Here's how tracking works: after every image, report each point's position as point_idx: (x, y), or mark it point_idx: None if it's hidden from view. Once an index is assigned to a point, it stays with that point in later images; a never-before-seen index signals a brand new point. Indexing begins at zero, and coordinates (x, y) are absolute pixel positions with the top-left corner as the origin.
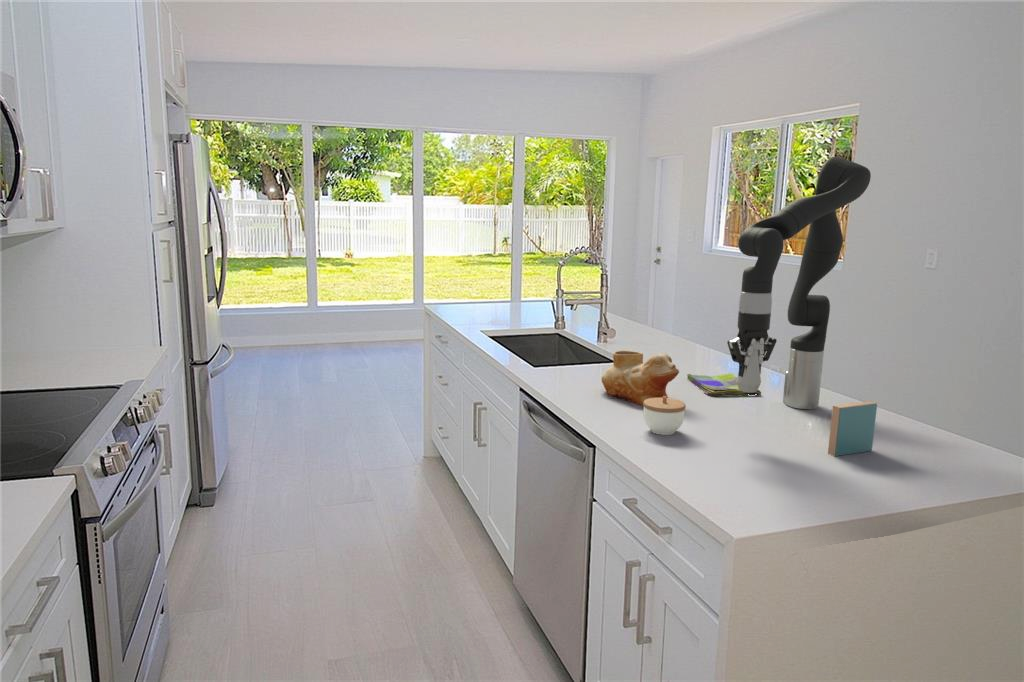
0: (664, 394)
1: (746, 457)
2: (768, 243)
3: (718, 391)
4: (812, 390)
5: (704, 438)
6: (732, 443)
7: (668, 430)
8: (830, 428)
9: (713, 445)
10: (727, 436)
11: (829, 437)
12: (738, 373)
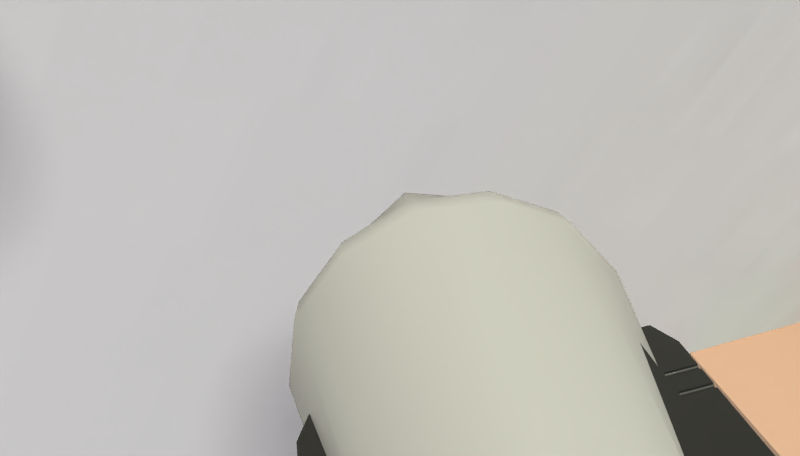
0: None
1: (221, 396)
2: None
3: None
4: None
5: (56, 49)
6: (237, 173)
7: None
8: (774, 450)
9: (81, 202)
10: (265, 21)
11: (740, 412)
12: (323, 400)
